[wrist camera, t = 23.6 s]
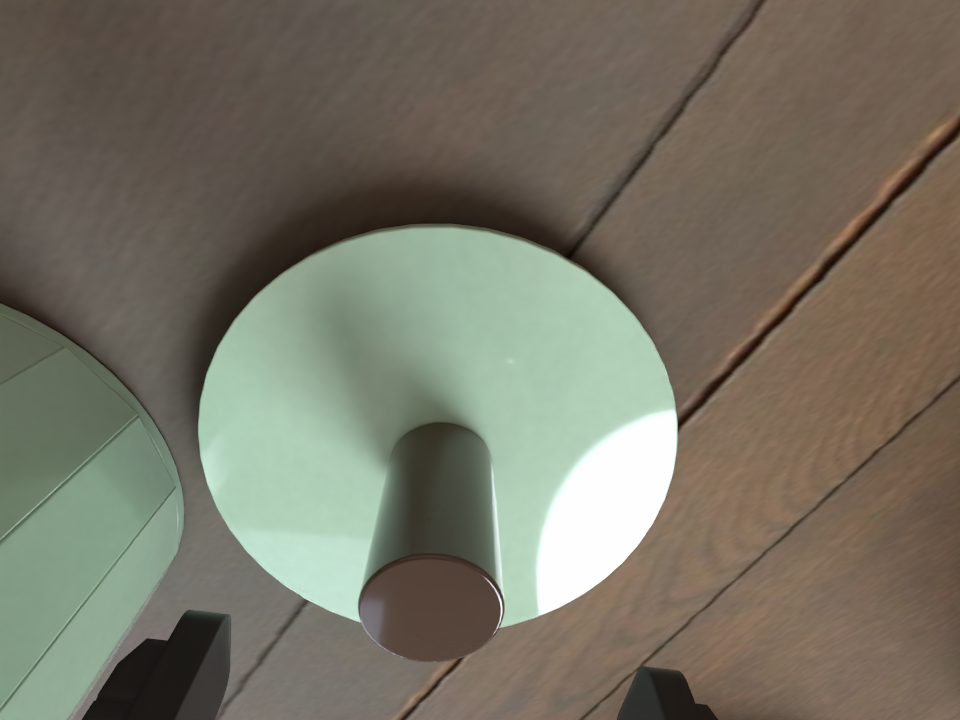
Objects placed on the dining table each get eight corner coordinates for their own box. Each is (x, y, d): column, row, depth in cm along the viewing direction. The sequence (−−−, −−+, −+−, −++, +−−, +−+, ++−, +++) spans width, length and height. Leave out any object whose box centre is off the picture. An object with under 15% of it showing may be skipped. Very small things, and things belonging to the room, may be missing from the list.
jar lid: (212, 583, 20) (103, 784, 14) (212, 170, 14) (30, 208, 8) (595, 630, 22) (646, 830, 16) (735, 272, 16) (901, 367, 10)
